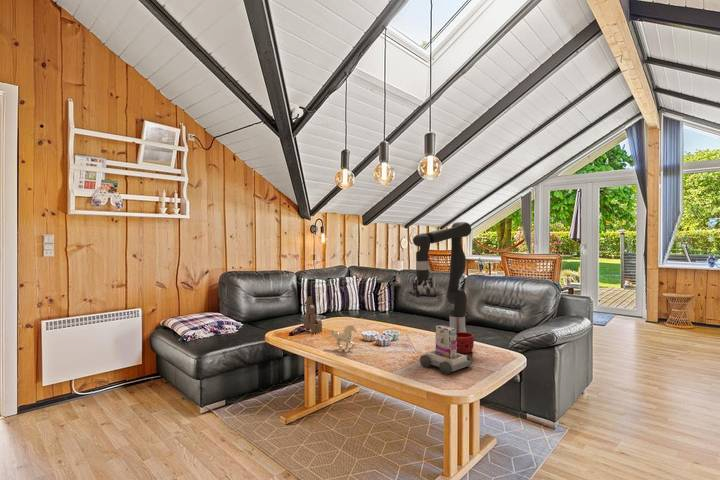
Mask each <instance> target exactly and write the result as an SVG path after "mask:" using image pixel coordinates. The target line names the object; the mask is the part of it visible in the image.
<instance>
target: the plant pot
mask: <svg viewBox="0 0 720 480" xmlns="http://www.w3.org/2000/svg"><path fill="white" fill-rule="evenodd" d="M474 342H475V335H474V334H472V333H470V332H466V333H465V332H457V353H458V354H462V355H465V354H467V355H469V356H470V357H471V358H472V356H474V352H473V349H474Z"/></svg>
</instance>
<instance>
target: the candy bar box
mask: <svg viewBox="0 0 720 480" xmlns="http://www.w3.org/2000/svg"><path fill="white" fill-rule="evenodd" d="M435 349H436V355H439V356H442V357H445V358H448V359H455V358H457V329H455V328H451V327H450V326H447V325H444V324H440V325H435Z"/></svg>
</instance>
